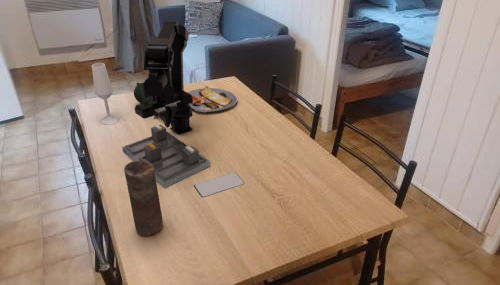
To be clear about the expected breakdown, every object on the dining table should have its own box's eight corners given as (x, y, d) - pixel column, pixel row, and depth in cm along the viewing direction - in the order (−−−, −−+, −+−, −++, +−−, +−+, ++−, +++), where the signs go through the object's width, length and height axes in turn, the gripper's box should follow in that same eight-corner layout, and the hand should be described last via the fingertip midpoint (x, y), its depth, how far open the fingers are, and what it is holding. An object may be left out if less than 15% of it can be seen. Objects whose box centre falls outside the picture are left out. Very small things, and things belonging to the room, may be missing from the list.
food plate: (172, 100, 170) (172, 93, 168) (212, 88, 184) (212, 81, 182) (205, 120, 155) (205, 113, 153) (246, 105, 169) (246, 98, 167)
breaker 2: (192, 156, 126) (191, 144, 124) (199, 161, 124) (198, 148, 121) (182, 161, 124) (181, 148, 121) (189, 166, 121) (188, 153, 119)
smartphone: (193, 184, 116) (235, 171, 123) (193, 186, 117) (235, 173, 123) (201, 197, 111) (245, 183, 117) (201, 198, 111) (245, 184, 118)
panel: (166, 135, 143) (165, 129, 141) (210, 166, 125) (209, 159, 124) (123, 151, 132) (121, 145, 131) (164, 188, 115) (163, 180, 113)
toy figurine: (174, 120, 157) (148, 96, 173) (172, 80, 146) (144, 58, 162) (154, 126, 152) (129, 101, 167) (150, 85, 141) (123, 62, 156)
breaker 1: (161, 135, 139) (160, 122, 136) (167, 139, 136) (165, 126, 134) (152, 138, 136) (150, 126, 134) (157, 142, 134) (156, 130, 131)
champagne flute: (117, 115, 156) (107, 61, 144) (118, 122, 151) (107, 66, 138) (101, 118, 154) (88, 63, 142) (101, 125, 149) (88, 68, 136)
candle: (138, 217, 103) (127, 158, 93) (164, 216, 104) (156, 157, 94) (133, 237, 97) (120, 176, 86) (161, 236, 97) (152, 175, 87)
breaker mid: (155, 153, 128) (154, 141, 125) (161, 158, 125) (160, 145, 122) (145, 158, 125) (143, 145, 123) (151, 163, 123) (149, 149, 120)
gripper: (173, 70, 126) (177, 110, 134) (122, 83, 115) (130, 127, 123) (192, 78, 119) (195, 121, 127) (140, 94, 108) (147, 139, 116)
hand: (167, 126), depth 124 cm, fingers closed
